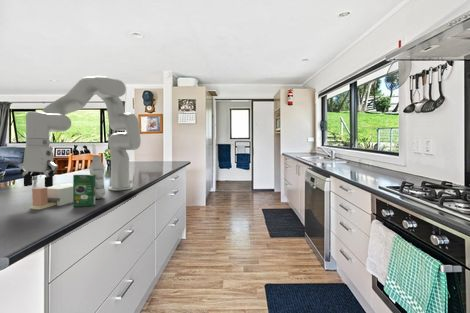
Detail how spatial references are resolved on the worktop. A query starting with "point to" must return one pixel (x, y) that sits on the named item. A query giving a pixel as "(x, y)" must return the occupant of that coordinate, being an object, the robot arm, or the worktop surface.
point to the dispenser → (60, 193)
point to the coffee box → (83, 190)
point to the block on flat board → (41, 198)
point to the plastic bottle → (98, 176)
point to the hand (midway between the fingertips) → (38, 186)
